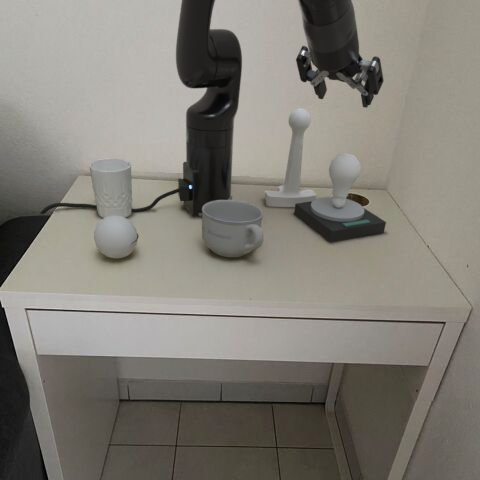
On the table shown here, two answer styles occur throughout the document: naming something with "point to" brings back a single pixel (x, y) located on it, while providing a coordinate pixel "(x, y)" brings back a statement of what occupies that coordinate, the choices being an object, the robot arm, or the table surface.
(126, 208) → the white cup
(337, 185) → the lightbulb
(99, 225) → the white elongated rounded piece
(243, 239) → the teacup
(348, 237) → the scale
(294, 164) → the joystick
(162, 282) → the table surface
